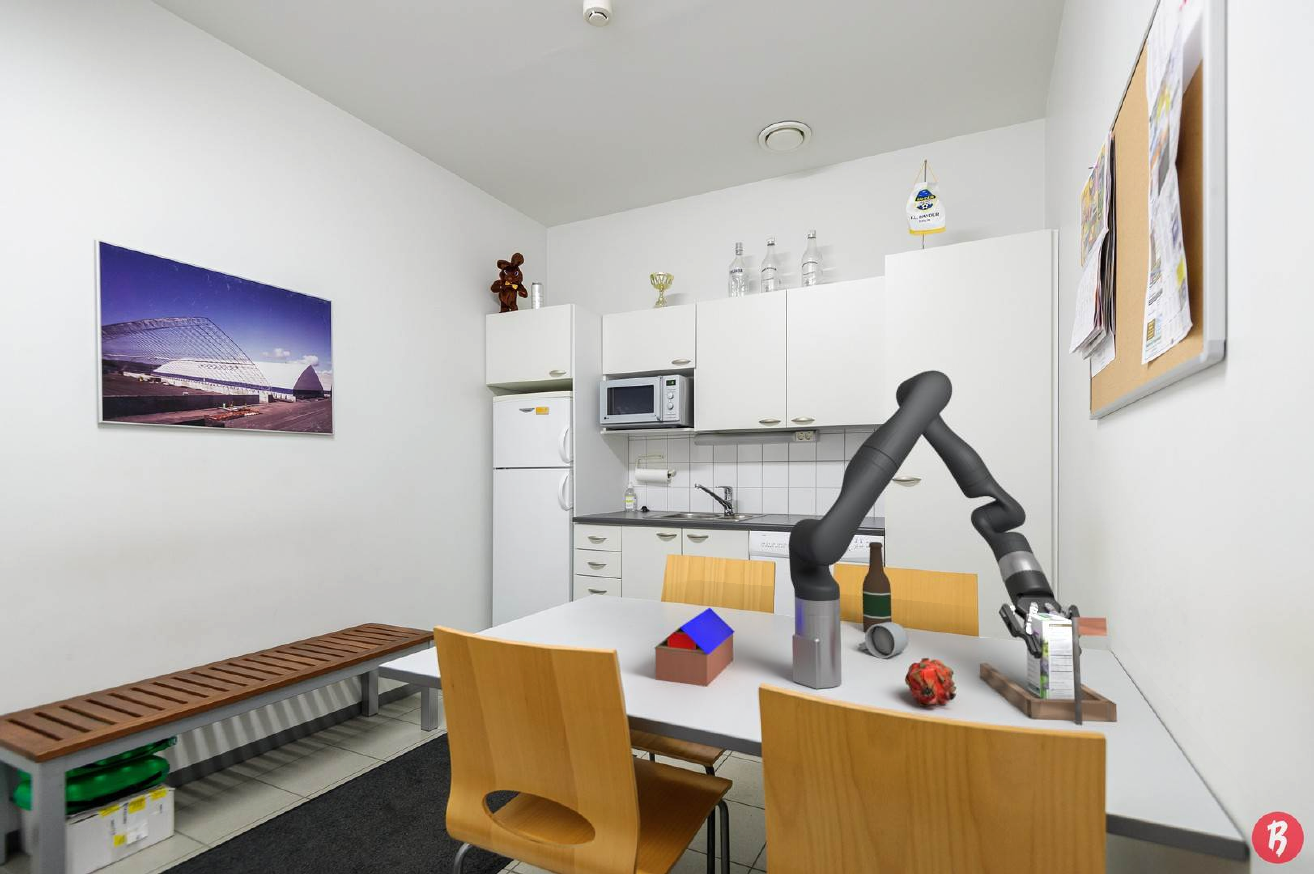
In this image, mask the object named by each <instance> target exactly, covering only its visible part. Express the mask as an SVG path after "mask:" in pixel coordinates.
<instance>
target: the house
mask: <svg viewBox="0 0 1314 874" xmlns="http://www.w3.org/2000/svg"><path fill="white" fill-rule="evenodd" d="M734 633H735V630H733V629H732V627H731V626H730V625H729V624H727V622H725V620H723V619H722V618H721V617H720V615H718V614H717V613H716V612H715V611H714V610H713V609H712V608H711V607H709V608H707V609H706V610H703V612H701V613H699V614H697V615H696V616H695V617H693V618H692V619H690V620H689V621H687V622H686V623H684V624H683V625H681V626H680V627H678V628H677V629H675V630H674V631H673V632H672V633H671V634H670V635H668V636H667V637H666V638H665V639H664V640H662V641H661V642H659V644H657V645H656V646H655V647H654V650H655V657H654V658H655V663H654V664H655V680H656V681H662V682H671V683H676V684H677V683H678V684H686V685H692V686H699V687H700V686H701V687H708V686H710V685H711V683H712V682H713V681H714V680H715V679H716V678H717V677H718V676H719V675H720V674H721V673H722V672H723V671H724V670H725V669H726V668H727V667H729V665H730V664H731V663H732V662H733V661H734Z"/></svg>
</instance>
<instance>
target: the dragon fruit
mask: <svg viewBox="0 0 1314 874" xmlns="http://www.w3.org/2000/svg"><path fill="white" fill-rule="evenodd" d="M953 675H954V670H952V668H951V667H949V666H946V665H945V664H944V663H943V661H941V660H940V659H932V660H930V658H928V657H923V658H921V660H920V661H919V662H913V663H911V664H910V666H909V667H908V671H907V673H906V675H905V677H904V682H905V684H906V685H907V686H908V687H909V691H910V693H911V695H912V696H914V698H915V701H916V702H917V704H918V705H919V706H921V707H924V708H925V706H926V707H929V706H930V705H931V706H932V705H934V706H937V705H938V704H939V705H941V706H944V705H947V703H948V702H950V701H953V700H954V699H955V698H956V697H957V693H956V690H957V686H955V682H954V680H953Z"/></svg>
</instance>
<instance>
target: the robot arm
mask: <svg viewBox="0 0 1314 874" xmlns="http://www.w3.org/2000/svg"><path fill="white" fill-rule="evenodd" d="M952 394H953V385H952V381H951V379H950V378H949V375H947V374H945V373H944V372H942V371H939V370H926V371H922V372H920V373H917V374H915V375H914V376H912V377H910V378H907V379H906V380H904V381H902V382H901V383H900V384H899V385H898V386H897V389H896V392H895V400H896V402H897V403H896V404H897V405H898V409H897V410H896V411H895V413H894V414H892V416H891V417H889V418H888V419H887V420H886V421H885V422H884V423H883V424H881V425H880V426H879V427H878V428H877V429H876V430H875V431H873V433H871V435H869V436H868V437H867V438H866V439H865V440H864V441H863V442H862V444H861V445H860V446H859V448H858V449H857V451H856V452H855V453H854V455H853V456H851V459H850V460H849V462H848V464H846V465H847V466H846V468H845V470H844V474H843V478H842V483H841V484H842V485H841V490H840V492H839V495H838V497H837V498H836V500H835V502H834V503H833V504H832V506H831V507H830V509H829V510H828V511H827V512H826V513H825V515H824V516H823V517H822V518H821V519H815V518H805V519H802V520H801V519H800V520H799V521H797V522H796V523H795V524H794V525H793V527H792V528H791V530H790V534H789V537H788V556H789V557H788V558H789V572H790V573H789V576H790V581H791V584H792V586H793V590H794V591H793V592H794V634H793V635H792V636H791V637H792V639H791V640H792V641H791V642H792V646H791V647H792V682H795V683H797V684H801V685H803V686H807V687H810V688H813V689H817V690H819V689H821V688H822V689H823V688H835V687H838V686H840V685H841V684H842V682H843V681H842V640H841V639H842V638H841V637H842V635H841V632H842V631H841V591H840V589H841V588H840V584H839V583H838V582H837V581H836V579H835V578H834V577H833V575H832V572H831V570H830V566H832V565H835V564H836V563H837V562H839V561H840V559H842V558H843V556H845V553H846V552H847V551H848V549H849V546H850V545H851V544H852V542H853V539H854V537H855V535H856V533H857V532H858V530H859V528H860V526H861V525H862V523H863V521H864V520H865V517H866V516H867V515H868V513H869V512H870V510H871V509H872V508H873V506H874V505H875V504H876V502H877V500H878V499H879V498H880V496H881V494H882V493H883V492H884V490H885V489H886V488H887V487H888V485H889V484H890V482H891V481H892V479H894V478H895V476H896V474H897V472H898V471H899V470H900V468H901V467H902V465H903V463H904V461H906V459H907V457H908V456H909V455H910V453H911V452H912V450H913V449H914V447H915V445H916V444H917V442H918V441H919V439H920V438H921V436H923V438H925V440H926V442H928V444H929V445H930V446H931V448H933V451H935V452H936V454H937V455H938V456H939V458H940V459H941V461H942V462H943V463H944V465H945V467H946V468H947V469H948V471H949V473H950V474H951V476H952V478H953V479H954V481H955V482H956V484H957V485H958V487H959V489H960V491H961V492H962V494H963V495H964V496H965V497H966V498H967V499H977V498H983V497H990V498H992V499H994V500H992V501H990V502H988V503H985V504H983V505H980V506H978V507H976V508H974V509H973V511H972V512H971V514H970V522H971V525H972V526H973V528H974V529H975V530H976V531H977V532H978V534H979V535H980V536H981V537H982V538H983V539H984V541H985V542H986V543H987V544H988V546H989V548H990V549H991V551H992V553H993V555H994V558H995V560H996V563H997V565H998V568H999V573H1000V576H1001V580H1002V583H1004V586H1005V589H1006V592H1007V594H1008V596H1009V599H1010V601H1011V603H1012V605H1009V604H1008V603H1002V604H1001V606H1000V608H999V611H998V614H999V616H1000V618H1001V619H1002V621H1003V623H1004V625H1005V626H1006V628H1007V630H1008V632H1009V634H1010V636H1011V637H1012V638H1016V639H1017V638H1020V639H1022V640H1023V641H1024V642H1025V644H1026V649H1027V648H1028V650H1029V653H1030V654H1031V655H1033V656H1034V658H1035V659H1040V657H1041V656H1042V650H1041V647H1040V645H1039V643H1038V640H1037V638H1036V635H1033V631H1034V628H1033V626H1032V620H1031V617H1030V615H1033V614H1037V613H1047V614H1052V615H1056V616H1060V617H1063V616H1064V618H1065V619H1068V620H1071V617H1081V615H1080V612H1079V608H1078V606H1076V605H1075V604H1071V605H1070V606H1064V605H1063V606H1062V605H1061V604H1060V603H1059V602H1058V601H1057V600H1056V599H1055V593H1054V592H1053V590H1052V588H1051V585H1050V583H1049V581H1048V578H1047V576H1046V574H1045V572H1044V570H1043V568H1042V566H1041V564H1040V562H1039V561H1038V559H1037V558H1036V556H1035V554H1034V552H1033V550H1032V547H1031V546H1030V543H1029V541H1028V539H1027V537H1026V536H1025V535H1024V534H1023V533H1021V532H1018V531H1012V530H1014V529H1017V528H1019V527H1020V528H1021V527H1022V526H1023V525H1024V524H1025V522H1026V519H1027V518H1026V511H1025V510H1024V507H1023V506H1022V505H1021V504H1020V502H1018V501H1017V500H1016V499H1015V498H1014V497H1012V496H1011V494H1009V493H1008V492H1007V491H1006V490H1005V489H1004V488H1003V487H1002V486H1001V485H1000V484H999V483H998V482H997V480H996V479H995V478H994V476H993V475H992V473H991V471H990V470H989V469H988V467H987V465H986V463H985V462H984V461H983V459H982V457H981V456H980V454H979V453H978V452H977V451H976V450H975V448H973V447H972V446H971V445H970V444H969V443H967V441H965V440H964V439H963V438H961V437H960V436H959V435H958V434H956V432H954V431H953V430H952V429H951V428H950V427H949V426H948V424H947V423H946V422H945V420H944V419H943V417H942V416H941V414H940V413H942V411H943V410H944V409H945V408H946V407H947V406H948V405H949V403H950V402H951V399H952ZM1027 614H1029V615H1028V620H1027ZM1061 614H1062V615H1061ZM1016 615H1017V616H1019V617H1020V618H1021V619H1022V620H1023V624H1022V625H1023V626H1021V623H1020V622H1019V621H1018V619H1017V617H1016ZM1081 636H1082V635H1079V639H1080V638H1081ZM1079 651H1080V655H1082V652H1083V651H1082V648H1081V646H1080V645H1079Z"/></svg>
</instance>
